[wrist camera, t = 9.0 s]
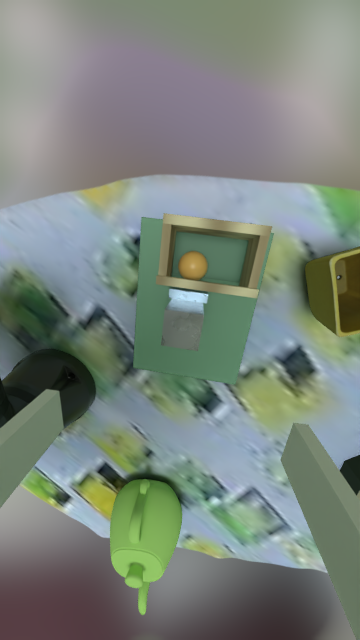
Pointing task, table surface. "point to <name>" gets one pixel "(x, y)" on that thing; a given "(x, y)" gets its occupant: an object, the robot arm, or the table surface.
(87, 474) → the table surface
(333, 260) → the flower pot
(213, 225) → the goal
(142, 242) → the board
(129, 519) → the teapot
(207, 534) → the table surface
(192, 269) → the ball
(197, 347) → the block
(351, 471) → the wine bottle
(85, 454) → the table surface
